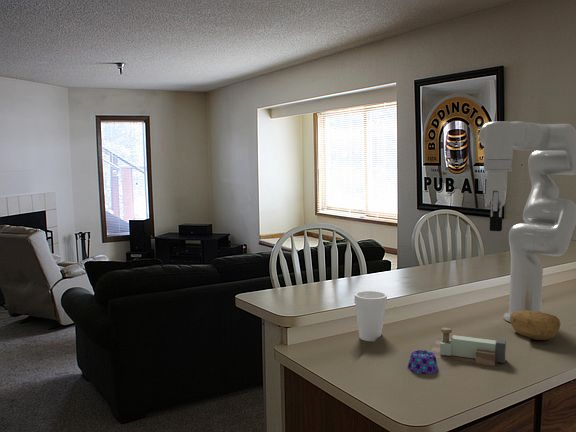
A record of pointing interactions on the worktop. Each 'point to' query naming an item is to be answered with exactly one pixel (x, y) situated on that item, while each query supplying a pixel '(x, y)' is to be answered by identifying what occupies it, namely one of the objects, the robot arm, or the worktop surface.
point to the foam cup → (370, 313)
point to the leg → (473, 347)
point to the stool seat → (481, 357)
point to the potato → (535, 324)
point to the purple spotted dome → (423, 362)
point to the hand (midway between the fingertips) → (495, 230)
